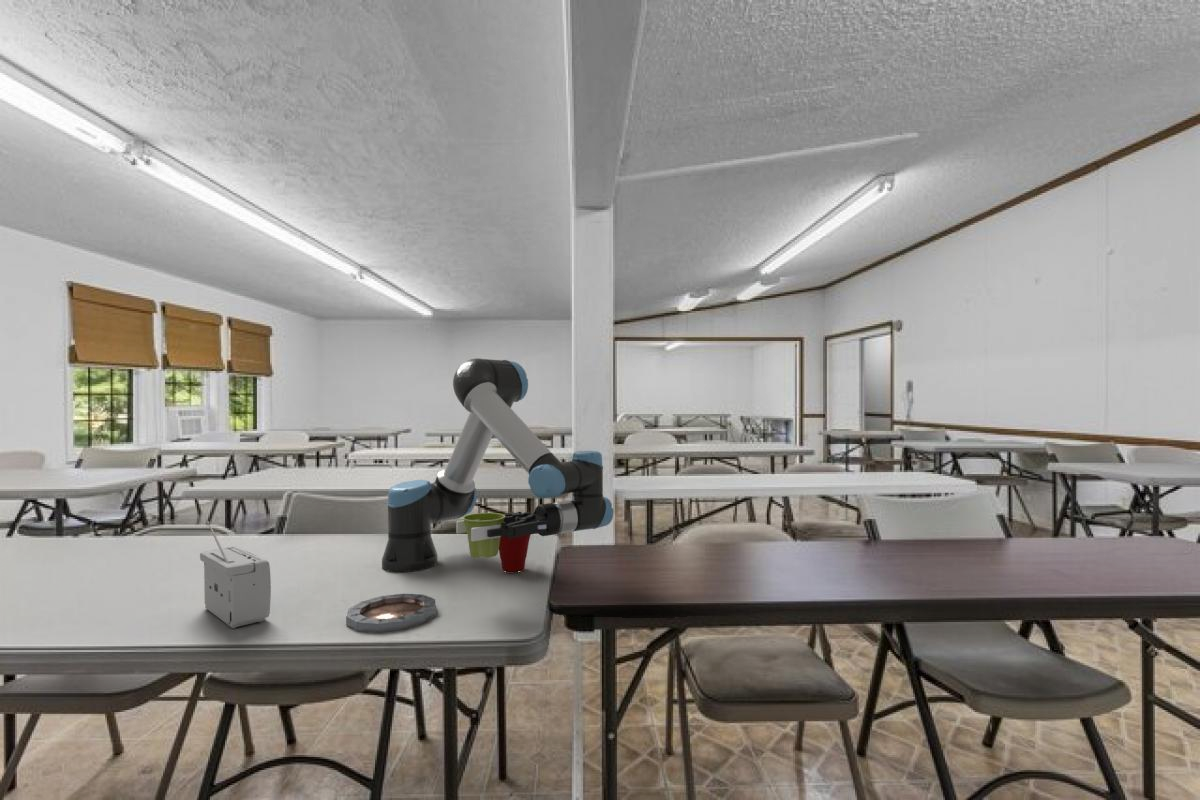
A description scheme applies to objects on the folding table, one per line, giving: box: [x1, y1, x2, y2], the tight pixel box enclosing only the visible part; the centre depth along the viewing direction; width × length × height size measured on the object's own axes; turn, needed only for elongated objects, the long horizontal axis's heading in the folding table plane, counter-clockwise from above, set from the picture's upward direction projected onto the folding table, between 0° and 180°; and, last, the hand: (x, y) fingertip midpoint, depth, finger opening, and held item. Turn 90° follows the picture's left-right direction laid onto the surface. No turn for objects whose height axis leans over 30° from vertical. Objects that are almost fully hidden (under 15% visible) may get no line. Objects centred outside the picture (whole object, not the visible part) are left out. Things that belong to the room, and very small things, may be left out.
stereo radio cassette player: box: [199, 521, 272, 629], centre depth 129 cm, size 21×8×20 cm, turn 48°
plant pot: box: [462, 512, 505, 559], centre depth 131 cm, size 9×9×9 cm
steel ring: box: [345, 593, 437, 634], centre depth 127 cm, size 18×18×2 cm
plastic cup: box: [498, 534, 532, 573], centre depth 160 cm, size 11×11×12 cm
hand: (464, 531), depth 128 cm, fingers closed on plant pot, 8 cm apart
